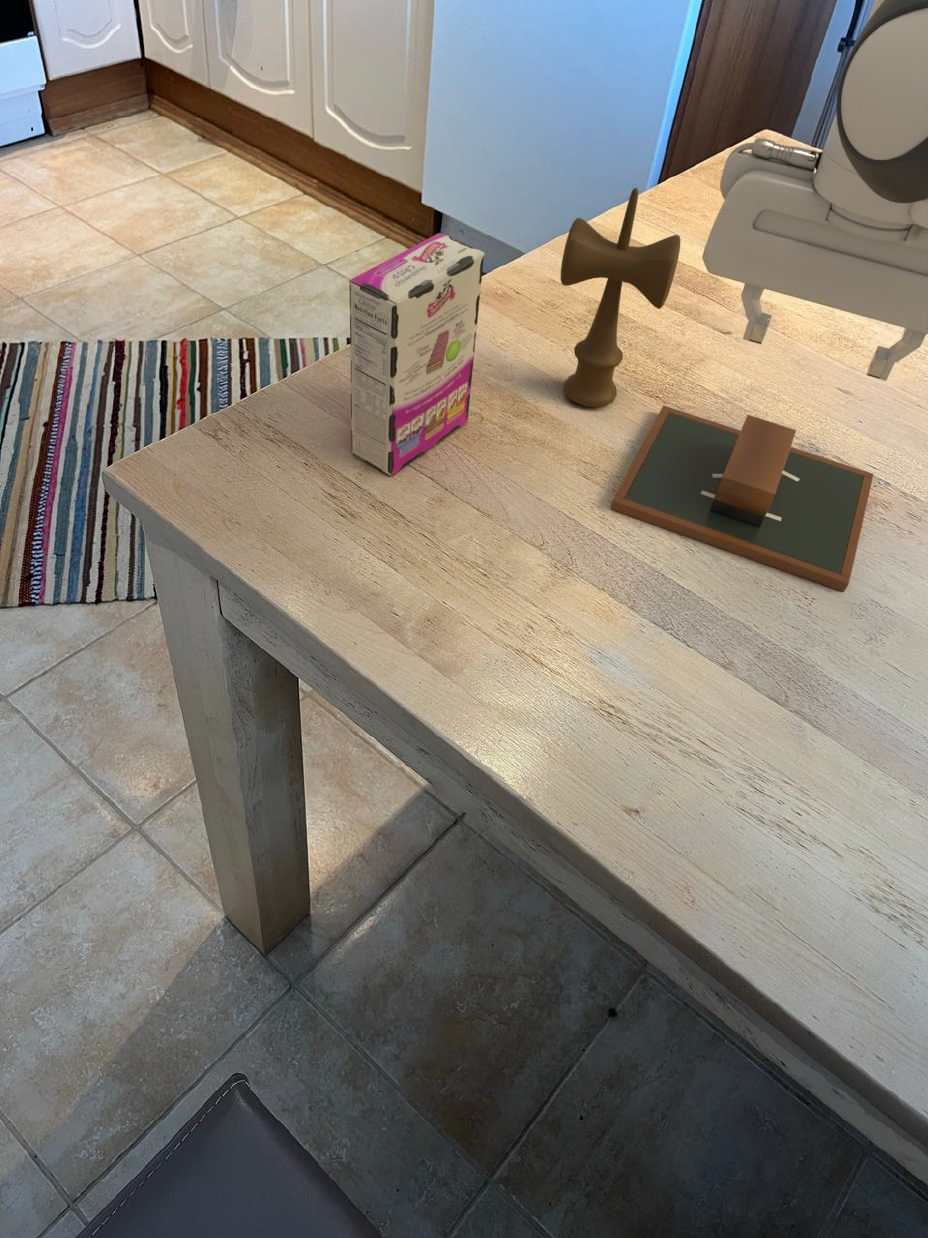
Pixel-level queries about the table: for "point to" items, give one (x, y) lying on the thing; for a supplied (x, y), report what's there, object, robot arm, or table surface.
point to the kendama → (612, 297)
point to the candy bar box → (412, 350)
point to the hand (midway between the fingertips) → (814, 356)
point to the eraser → (753, 470)
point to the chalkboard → (788, 538)
